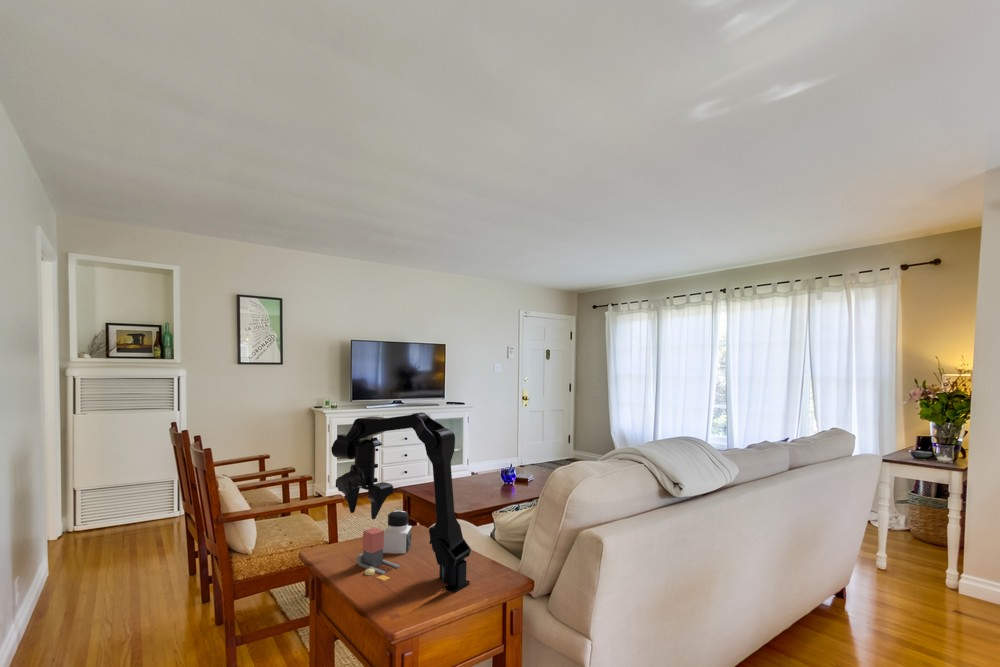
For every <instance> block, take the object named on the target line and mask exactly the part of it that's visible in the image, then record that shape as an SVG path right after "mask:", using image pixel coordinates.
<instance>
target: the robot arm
mask: <svg viewBox="0 0 1000 667" xmlns="http://www.w3.org/2000/svg"><path fill="white" fill-rule="evenodd" d="M405 429H413V430H414V432H415V434H416V436H417V438H418V440H420V441H421V443H423V444H424V447H425V448H424V449H425V452H426V456H427V458H428V459H429V461H430V462H431V465H432V474H433V489H434V502H435V503H434V504H435V515H436V516H435V519H436V521H435V522H434V524H433V525H432V526H430V527H429V528H428V533H429V543H428V544H429V545H431V549H432V552H433V553H434V556H435V558H436V563H437V565H439V573H438V574H439V577H438V579H440V580H441V581H442V583H444V584H446V586H444V587H443V589H444V590H445V589H446V590H448V591H450V592H453V593H456V592H458V591H459V590H461V589H463V588H464V587H466V586H468V585H470V583H471V582H470V580H467V561H468V560H465V559H467V558H469V556H470V555H471V553H472V548H471V547H470V546H469V544H468V543H467V541H466V540H465V539H464V537H463V531H462V527H461V525H460V523H459V521H458V520H457V518H456V516H455V515H456V514H455V513H456V512H455V503H454V502H455V501H454V500H455V499H454V492H453V491H454V489H453V478H452V475H453V474H452V466H451V464H452V459H453V456H454V453H455V450H456V449H455V447H456V437H455V433H454V432H453V431H452V430H451V429H449V428H447V427H445V426H444V425H443V424H442V423H440V422H439V421H436V420H435V419H434V418H431V416H429V415H428V414H427V413H426V412H416V413H412V414H408V415H407V414H406V415H400V416H395V417H394V416H392V417H381V416H364V417H359V418H356V419H354V421H353V423H352V426H351V428H350V429H349V431H348V432H347V434H343V433H341V434H340V433H339V434H337V435H336V436H337V437H336V439H335V440H334V442H333V444H332V446H331V448H330V449H331V454H332V456H333V457H334V458H339V459H346V460H347V459H348V460H354V463H353V464H351V466H350V468H349V471H348V472H346V473H343V474H342V475H340V476H338V477H337V478H336V479H335V488H337V491H338V492H341V493H342V494H344V496H345V498H346V499H345V500H346V502H347V505H348V510H349V512H350V513H351V514H353V513H355V510H356V507H357V504H358V500H359V494H360V489H362V490H366V491H367V494H368V496H367V499H368V500H369V501H370V512H371V513H370V514H371V520H375V519H376V518H377V516H378V515H379V512H380V511H381V508H382V507H383V505H384V503H385V501H386V499H387V498H388V497H390V496H391V495H393V494H394V485H393V484H392V483H388V482H384V481H381V482H378V478H377V477H375V472H376V471H375V470H376V469H378V468H379V464H378V463H376V447H380V446H382V445H383V443H382V442H381V441H380V440H379V439H378V438H377V437H375V436H378V435H381V434H383V433H385V432H389V431H397V430H405ZM370 437H372V438H370ZM368 438H370V439H368Z"/></svg>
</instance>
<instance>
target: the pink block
mask: <svg viewBox="0 0 1000 667" xmlns="http://www.w3.org/2000/svg"><path fill="white" fill-rule="evenodd" d="M384 531H385V530H384V529H381V528H378V527H372V528H369V529H366V530H363V531H362V551H363V550H365V551H368V552H371V553H374V552H377V551H379V550H381V549H384Z"/></svg>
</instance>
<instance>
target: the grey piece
mask: <svg viewBox="0 0 1000 667" xmlns="http://www.w3.org/2000/svg"><path fill="white" fill-rule="evenodd" d="M383 564H384V565H386V566H384V565H383ZM357 565H358V566H359V567H362V568H364V569H365V570H364V575H365V576H374V575H375V573H378V574H379V575H378V576H376V579H378V580H381V581H384V582H386V581H388V580H389V579H391V577H389V576H387V575H386V573H388V572H390V571H392V570H393V568H396V569H399V568H400V567H401V565H400V564H397V563H394V562H391V561H388V560H386V559H383V563H382V564H381V565H378V566H376V567H372V566H369V565H366V564H364V563H363V553H360V554H358V555H357ZM387 566H390V567H393V568H389V567H387Z"/></svg>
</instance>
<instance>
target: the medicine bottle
mask: <svg viewBox="0 0 1000 667" xmlns="http://www.w3.org/2000/svg"><path fill="white" fill-rule="evenodd" d="M412 527H413V526H412V525H409V513H408V512H407V511H405V510H393V511H391V512H389V513H388V515H387V527H386V529H385V530H384V549H383V554H405V555H406V554H407V553H408V552H409V550H410V548H411V546H412Z"/></svg>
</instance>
